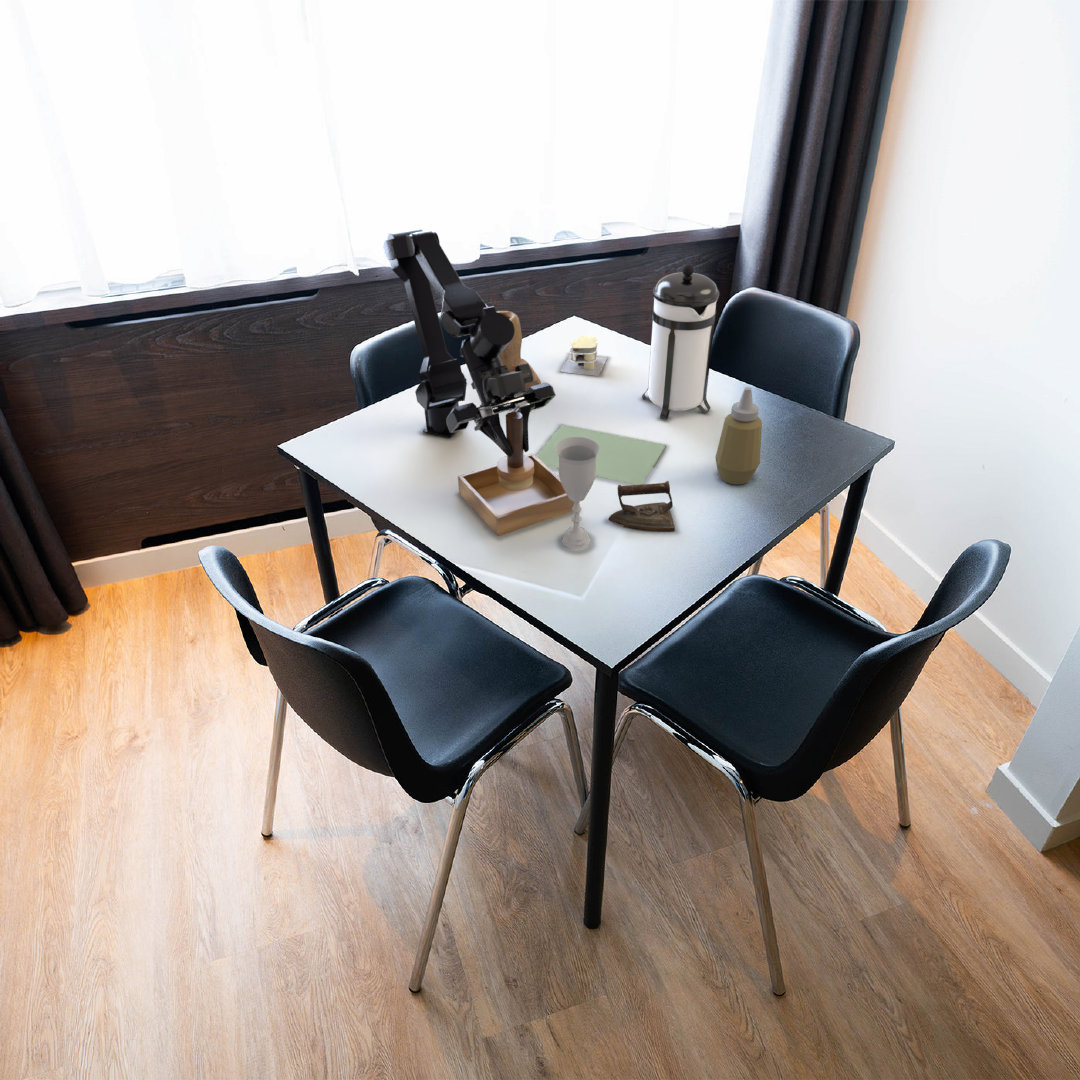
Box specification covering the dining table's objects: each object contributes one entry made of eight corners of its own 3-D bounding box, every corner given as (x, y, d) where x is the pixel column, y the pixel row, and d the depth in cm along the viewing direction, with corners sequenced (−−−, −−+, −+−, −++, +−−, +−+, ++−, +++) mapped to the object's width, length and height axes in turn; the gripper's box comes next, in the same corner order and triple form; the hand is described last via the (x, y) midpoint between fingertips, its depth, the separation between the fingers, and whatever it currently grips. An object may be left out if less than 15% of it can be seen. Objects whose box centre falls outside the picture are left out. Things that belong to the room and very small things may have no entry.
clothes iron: (679, 533, 143) (671, 489, 136) (614, 547, 144) (602, 504, 138) (672, 506, 148) (664, 463, 141) (609, 520, 150) (598, 478, 143)
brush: (491, 487, 146) (488, 420, 138) (507, 469, 151) (504, 403, 143) (525, 494, 144) (523, 428, 136) (540, 476, 149) (539, 410, 141)
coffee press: (724, 398, 182) (742, 258, 164) (693, 429, 171) (709, 283, 153) (651, 379, 189) (661, 244, 171) (617, 408, 178) (624, 267, 160)
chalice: (553, 530, 143) (553, 438, 132) (593, 528, 144) (596, 435, 133) (558, 556, 137) (558, 462, 127) (599, 554, 138) (602, 459, 127)
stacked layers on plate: (570, 354, 201) (570, 332, 197) (607, 357, 199) (608, 335, 195) (560, 372, 193) (560, 349, 190) (598, 376, 191) (599, 353, 188)
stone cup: (475, 369, 194) (471, 307, 185) (525, 363, 197) (523, 301, 188) (489, 399, 182) (486, 333, 174) (542, 391, 185) (541, 326, 176)
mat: (530, 464, 161) (530, 462, 160) (561, 426, 172) (561, 424, 172) (641, 487, 154) (641, 485, 153) (665, 446, 165) (665, 444, 165)
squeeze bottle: (760, 469, 158) (774, 381, 147) (754, 492, 152) (769, 402, 141) (716, 462, 160) (728, 375, 150) (709, 484, 154) (720, 395, 143)
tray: (459, 494, 152) (457, 475, 150) (533, 471, 159) (532, 453, 156) (498, 538, 142) (497, 518, 139) (576, 511, 148) (576, 492, 145)
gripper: (448, 362, 133) (483, 454, 132) (550, 337, 140) (584, 424, 139) (431, 388, 143) (464, 474, 142) (527, 364, 150) (559, 445, 149)
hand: (518, 453), depth 143 cm, fingers closed on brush, 3 cm apart
